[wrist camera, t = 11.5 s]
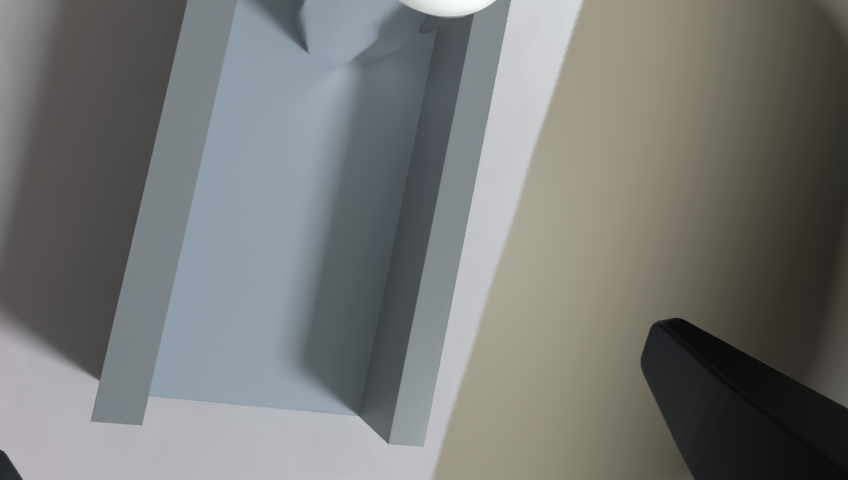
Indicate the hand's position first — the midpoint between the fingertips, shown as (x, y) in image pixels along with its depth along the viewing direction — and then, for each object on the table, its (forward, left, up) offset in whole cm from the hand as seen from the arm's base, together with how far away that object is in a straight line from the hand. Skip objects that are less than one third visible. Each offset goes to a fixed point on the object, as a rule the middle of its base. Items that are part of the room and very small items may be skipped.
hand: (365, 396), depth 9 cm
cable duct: (+8, -1, -13) cm, 15 cm away
